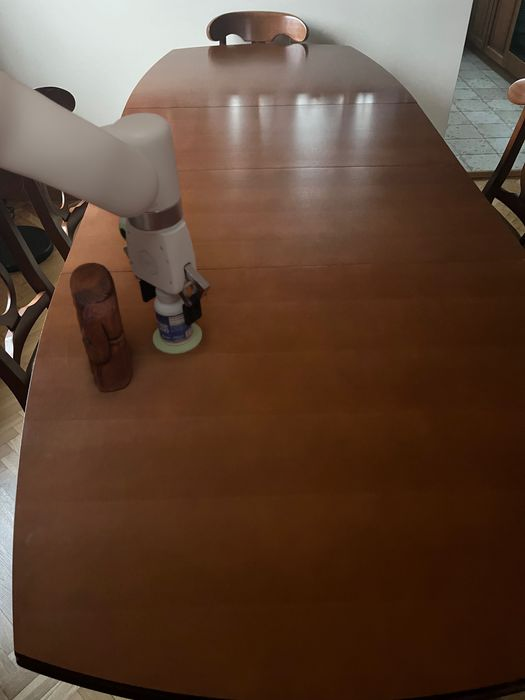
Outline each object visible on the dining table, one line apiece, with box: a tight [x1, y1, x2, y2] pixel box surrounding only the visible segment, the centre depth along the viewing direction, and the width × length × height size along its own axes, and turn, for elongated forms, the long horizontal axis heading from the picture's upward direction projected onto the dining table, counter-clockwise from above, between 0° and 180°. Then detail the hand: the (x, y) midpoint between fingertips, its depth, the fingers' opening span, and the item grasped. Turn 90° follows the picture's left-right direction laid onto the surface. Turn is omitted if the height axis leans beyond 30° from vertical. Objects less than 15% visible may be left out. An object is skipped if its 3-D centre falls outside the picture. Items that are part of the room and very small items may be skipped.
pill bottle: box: [153, 287, 193, 346], centre depth 92 cm, size 5×5×10 cm
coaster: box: [152, 322, 203, 355], centre depth 96 cm, size 8×8×1 cm
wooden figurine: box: [69, 262, 133, 393], centre depth 85 cm, size 12×6×18 cm, turn 16°
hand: (172, 308), depth 92 cm, fingers open, 8 cm apart
